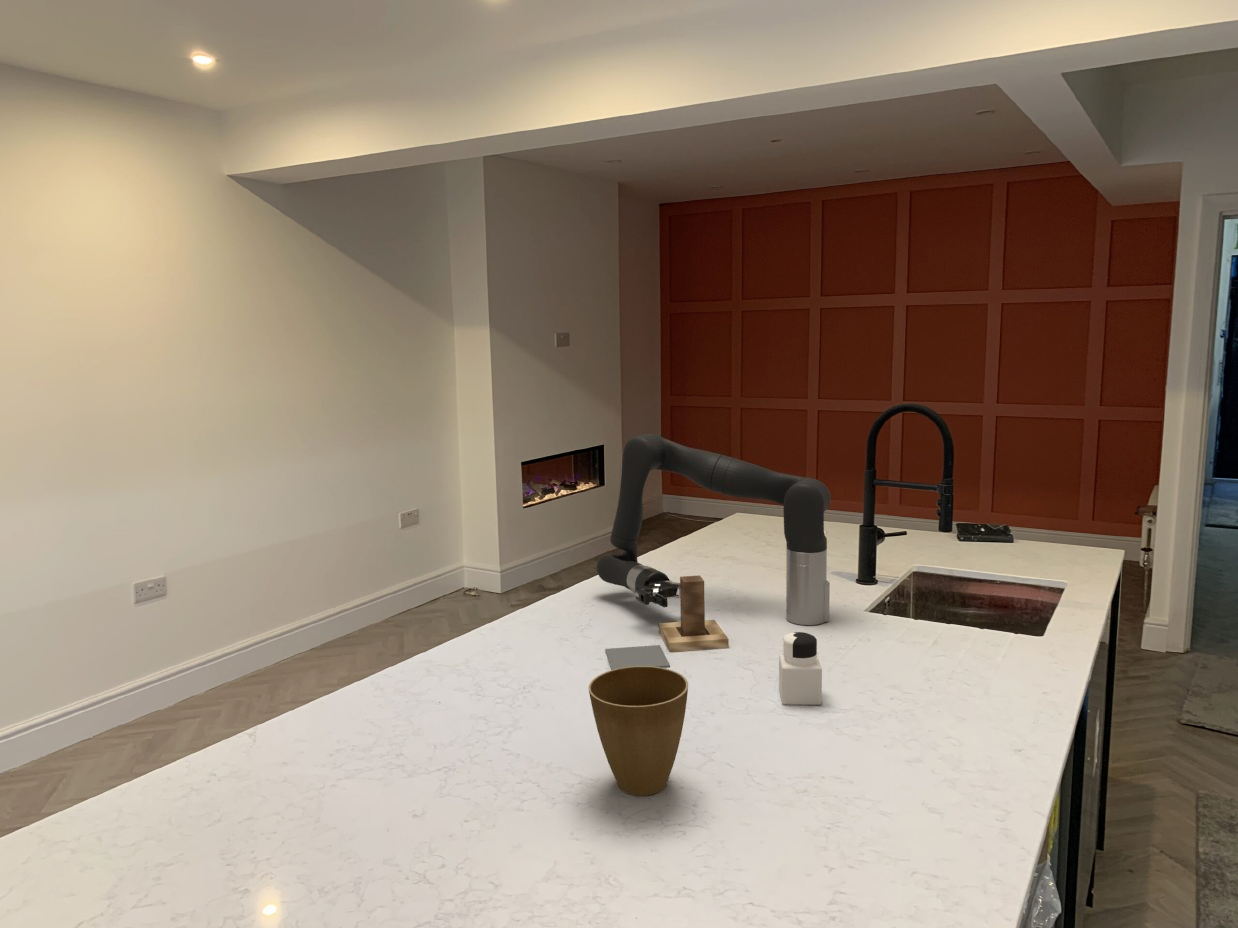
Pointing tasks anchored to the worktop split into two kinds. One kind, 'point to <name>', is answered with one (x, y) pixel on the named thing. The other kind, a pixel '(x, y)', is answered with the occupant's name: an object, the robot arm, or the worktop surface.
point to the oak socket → (693, 637)
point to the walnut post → (692, 606)
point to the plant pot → (640, 724)
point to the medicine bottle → (800, 670)
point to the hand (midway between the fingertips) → (682, 599)
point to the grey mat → (637, 657)
